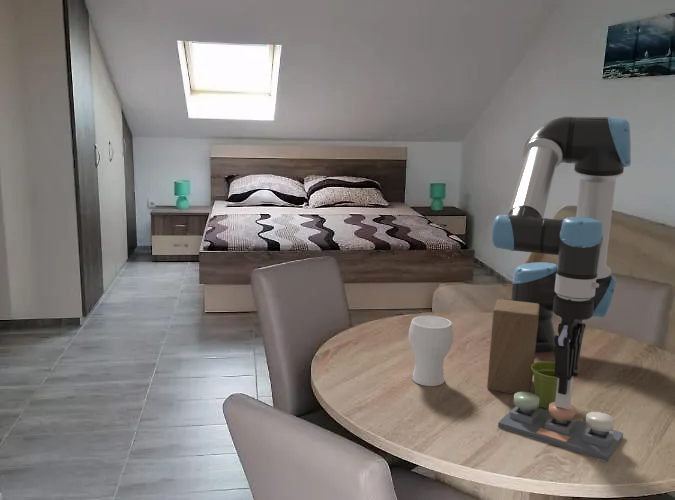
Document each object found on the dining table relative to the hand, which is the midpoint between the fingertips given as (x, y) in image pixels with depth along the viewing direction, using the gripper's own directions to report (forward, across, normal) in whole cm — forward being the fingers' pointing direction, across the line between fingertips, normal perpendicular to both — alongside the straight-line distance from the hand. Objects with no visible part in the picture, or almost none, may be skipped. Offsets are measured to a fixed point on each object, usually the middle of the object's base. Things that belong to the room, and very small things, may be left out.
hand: (562, 406), depth 131 cm
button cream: (+3, 0, -8) cm, 8 cm away
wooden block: (+6, +16, +17) cm, 24 cm away
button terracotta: (+3, 0, 0) cm, 3 cm away
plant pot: (+6, +12, +6) cm, 14 cm away
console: (+6, 0, 0) cm, 6 cm away
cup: (+6, +6, +34) cm, 35 cm away
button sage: (+3, 0, +7) cm, 8 cm away
